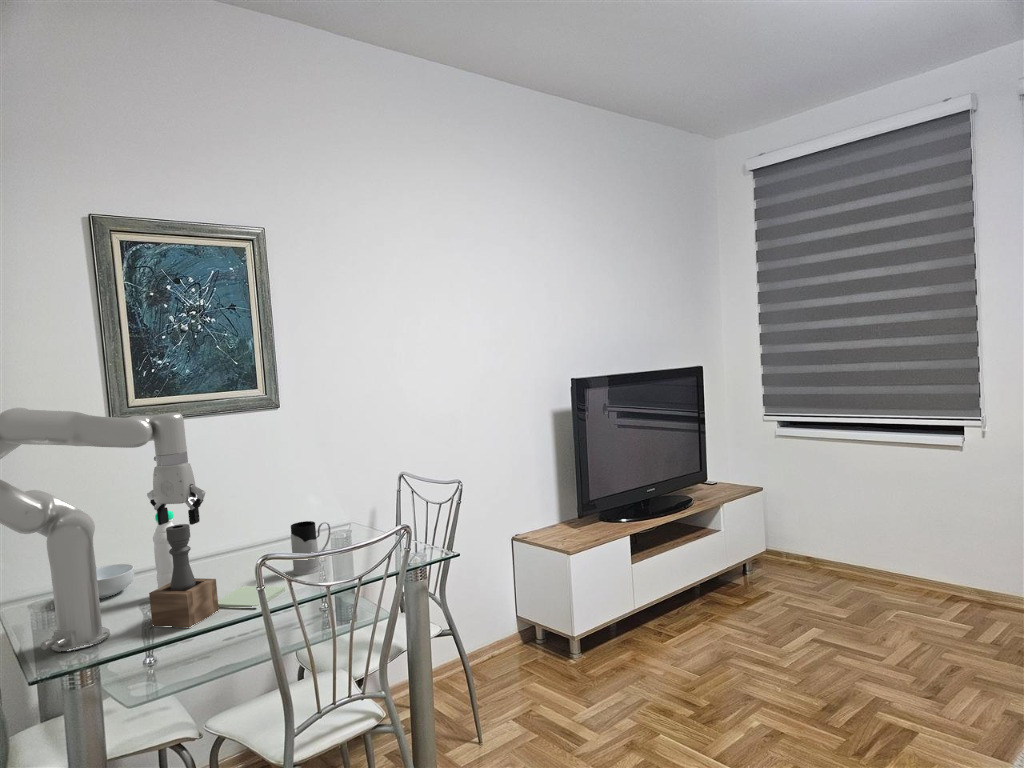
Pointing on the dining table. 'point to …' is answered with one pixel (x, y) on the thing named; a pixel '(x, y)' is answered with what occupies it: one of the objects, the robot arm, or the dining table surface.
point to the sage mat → (248, 596)
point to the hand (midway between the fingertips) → (179, 523)
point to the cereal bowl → (113, 578)
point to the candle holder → (180, 557)
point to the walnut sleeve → (184, 604)
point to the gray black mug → (306, 546)
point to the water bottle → (163, 552)
